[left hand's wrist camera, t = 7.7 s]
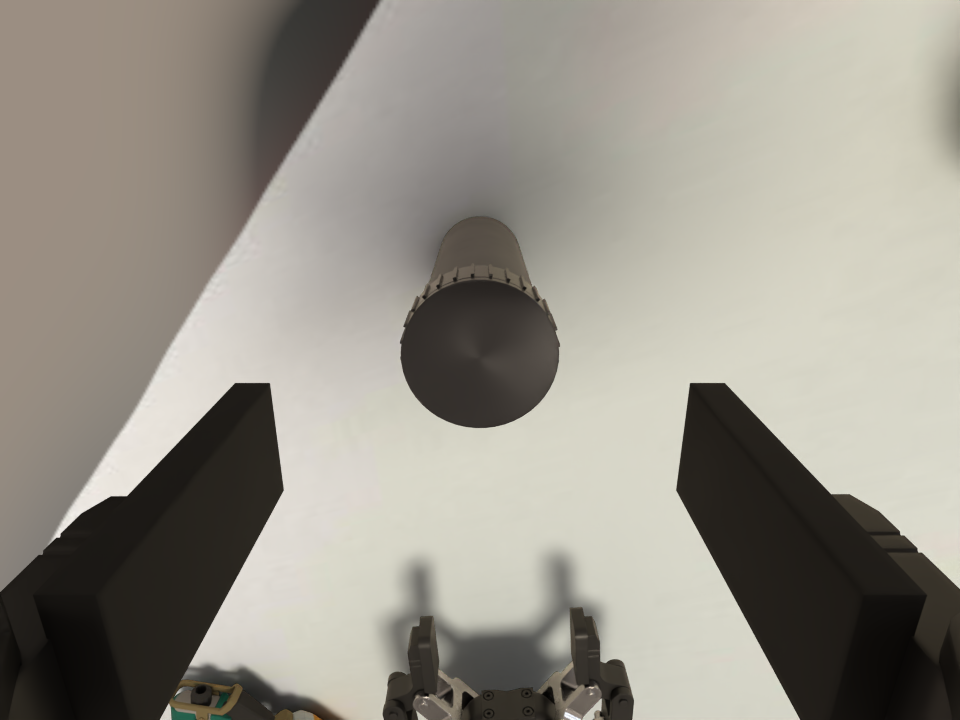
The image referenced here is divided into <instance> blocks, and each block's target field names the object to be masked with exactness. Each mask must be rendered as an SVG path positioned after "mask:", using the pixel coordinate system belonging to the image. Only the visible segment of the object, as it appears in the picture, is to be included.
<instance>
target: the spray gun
mask: <svg viewBox="0 0 960 720" xmlns="http://www.w3.org/2000/svg"><path fill="white" fill-rule="evenodd" d="M184 686H189V687H195V688H194V689H193V690H192V691H190V690H186V691H183V692H181V693H179V694H177V695H176V693H177V691H178V690H179V689H180V688H182V687H184ZM242 689H243V688H242V686H240V685H239V684H234V685H233V686H232V687H230V686H224V685H217V684H211V683H205V682H199V681H193V680H181V681H180V683H179V685H178V687H177V689H176V690H175V692H174V694H173V696H172V698H171V700H170V702H169V704H170V706H171V717H172V720H321V719H320V718H319V717H317V716H316V715H314V714H312V713H310V712H306V711H303V710H299V711H296V712H294V713H292V712H291V711H289V710H287V709H284V710H282V711H280V712H279V713H278V714H276V715H275V716H274V715H273V714H272V713H271V712H270V711H269V710H268V709H267V708H265V707H264V706H263V705H262V704H260V703H259V702H258V701H257V700H255V699H254V698H253V697H252V696H251V695H249V694H248V693H247V692H246V691H244V690H242ZM219 691H220V692H223V693H222V694H221V696H219ZM224 692H226V693H224ZM227 693H232V694H231V695H230V696H229V695H228V694H227ZM175 695H176V696H175ZM174 696H175V697H174Z"/></svg>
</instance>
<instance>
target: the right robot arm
mask: <svg viewBox="0 0 960 720" xmlns="http://www.w3.org/2000/svg"><path fill="white" fill-rule="evenodd" d="M570 631H571V655H572V662H571V663H570V664H569V665H568V666H567V667H566V668H565V669H564V670H563V671H562V672H561V673H559V672H554V673H553V675H552V676H551V677H550V678H549V679H548V680H547V681H546V682H545V683H544V684H543V686H542V687H541V688H540V689H539V690H538V691H537V692H533V688H519V689H516V690H512V691H499V690H483V691H482V695H478V694H477V693H476V692H475V691H474V690H472V689H471V688H470V687H469V686H468V685H466V684H465V683H464V682H463V681H462V680H460V679H459V678H457V677H456V678H454V679H453V680H452V679H451V678H449V677H448V676H447V675H446V674H445V673H443V672H442V671H441V670H440V669H439V656H438V648H437V641H436V633H435V626H434V618H433V616H423V617H420V624H419V626H416V627H412V630H411V633H410V640H409V647H408V659H409V665H410V671H411V673H410V674H408V675H406V674H404V673H402V672H394V673H392V674H391V675H390V676H389V679H388V690H387V696H386V702H385V705H384V709H383V718H384V720H418V717H417V713H416V711H418V712H419V713H420V714H421V715H423V716H424V717H425V718H426V719H428V720H582V718H583V716H584V715H585V714H586V713H587V712H588V711H589V710H590V709H591V708H592V707H593V706H594V705H595V704H596V703H597V702H598V701H599V700H600V698H602V709H601V711H596V712H595V713H594V716H595V718H594V719H593V720H632V715H633V705H634V699H633V695H632V692H631V688H630V684H629V680H628V677H627V673H626V669H625V666H624V663H623V662H622V661H620V660H617V659H613V660H610V661H608V662H607V663H602V662H600V641H599V637H598V632H597V628H596V624H595V621H594V620H593V618H592V616H587V617H584V613H583V608H582V607H577V608H570ZM436 695H437V697H436ZM462 710H463V711H462Z"/></svg>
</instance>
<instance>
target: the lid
mask: <svg viewBox="0 0 960 720" xmlns="http://www.w3.org/2000/svg"><path fill="white" fill-rule="evenodd" d="M403 327H405V329H404V332H403V335H402V338H401V340H400V344H401V357H400V358H401V363H402V368H403V373H404V376H405V379H406V381H407V383H408V385H409V387H410V389H411V391H412V392H413V394H414V395H415V397H416V398H417V399H418V400H419V401H420V403H421V404H422V405H423V406H425V407H426V408H427V409H428V410H429V411H430V412H432V413H433V414H435V415H436V416H438V417H440V418H442V419H444V420H446V421H448V422H450V423H453V424H456V425H460V426H464V427H472V428H488V427H496V426H500V425H504V424H507V423H509V422H512V421H514V420H516V419H518V418H520V417H522V416H524V415H525V414H527V413H528V412H529V411H531V410H532V409H533V408H534V407H535V406H536V405H538V403H539V402H540V401H541V400H542V399H543V398H544V397H545V395H546V393H547V392H548V390H549V389H550V387H551V385H552V383H553V381H554V378H555V375H556V372H557V367H558V363H559V347H560V343H559V340H558V338H557V335H556V332H555V331H556V330H557V327H556V324H555V322H554V319H553V316H552V314H551V313H550V310H549V308H548V305H547V302H546V300H545V299H543V300H542V298H541V297H540V295H539V294H538V291H537V288H536V287H535V286H533V287H532V286H531V285H530V284H529V283H528V282H526V281H525V279H524V277H523V276H522V275H521V276H520V277H519V276H517V275H516V274H514V273H512V272H509V269H508V268H505V270H504V269H501V268H497V267H493V266H492V264H489V265H488V266H484V265H483V266H475V264H474V263H473V264H471V266H468V267H463V268H459V269H458V267H454V270H453V271H450V272H448V273H446V274H444V275H442V273H441V274H439V276H438V279H436V280H435V281H434V282H432V283H431V284H430V285H429V284H427V285H426V286H425V289H424V291H423V293H422V294H421V295H420V297H418V296H417V297H416V298H415V301H414V303H413V306H412V309H411V311H409V313H408V316H407V318H406V321H405V323H404V326H403Z"/></svg>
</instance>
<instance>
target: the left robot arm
mask: <svg viewBox="0 0 960 720" xmlns="http://www.w3.org/2000/svg"><path fill="white" fill-rule="evenodd" d="M283 491H284V489H283V481H282V473H281V465H280V458H279V450H278V442H277V435H276V427H275V419H274V411H273V404H272V396H271V388H270V383H235V384H234V385H233V386H232V387H231V388H230V389H229V390H228V391H227V392H226V393H225V394H224V395H223V397H222V398H221V399H220V400H219V401H218V402H217V403H216V404H215V405H214V406H213V407H212V408H211V409H210V410H209V411H208V412H207V413H206V414H205V415H204V416H203V417H202V418H201V420H200V421H199V422H198V423H197V424H196V425H195V426H194V427H193V428H192V429H191V430H190V431H189V432H188V433H187V434H186V435H185V436H184V437H183V438H182V439H181V440H180V441H179V443H178V444H177V445H176V446H175V447H174V448H173V449H172V450H171V451H170V452H169V453H168V454H167V455H166V456H165V457H164V458H163V459H162V460H161V461H160V462H159V463H158V464H157V466H156V467H155V468H154V469H153V470H152V471H151V472H150V473H149V474H148V475H147V476H146V477H145V478H144V479H143V480H142V481H141V482H140V483H139V484H138V485H137V486H136V487H135V489H134V490H133V491H132V492H131V493H130V494H129V495H128V496H111V497H109V498H107V499H106V500H104V501H102V502H100V503H99V504H97V505H95V506H94V507H92V508H90V509H88V510H87V511H85V512H83V513H82V514H80V515H79V516H78V517H77V518H76V519H75V520H74V521H73V522H72V523H71V524H70V525H69V526H68V527H67V528H66V529H65V530H64V531H63V532H62V533H61V536H60V538H56V539H55V540H54V541H53V542H52V543H51V544H50V545H49V546H47V547H46V548H45V549H44V550H43V555H38V556H37V557H36V558H35V559H34V560H33V561H32V562H31V563H30V564H29V565H28V566H27V567H26V568H25V569H24V570H23V571H22V572H21V573H20V574H19V575H18V576H17V577H16V578H14V579H13V580H12V581H11V582H10V583H9V584H8V585H7V586H6V587H5V588H4V589H3V590H2V591H1V592H0V720H160V718H161V716H162V715H163V713H164V711H165V709H166V707H167V705H168V703H169V702H170V700H171V698H172V696H173V694H174V692H175V690H176V689H177V687H178V685H179V683H180V681H181V679H182V678H183V676H184V674H185V672H186V670H187V668H188V666H189V665H190V663H191V661H192V659H193V657H194V655H195V653H196V652H197V650H198V648H199V646H200V644H201V642H202V641H203V639H204V637H205V635H206V633H207V631H208V629H209V628H210V626H211V624H212V622H213V620H214V618H215V616H216V615H217V613H218V611H219V609H220V607H221V605H222V604H223V602H224V600H225V598H226V596H227V594H228V592H229V591H230V589H231V587H232V585H233V583H234V581H235V579H236V578H237V576H238V574H239V572H240V570H241V568H242V567H243V565H244V563H245V561H246V559H247V557H248V555H249V554H250V552H251V550H252V548H253V546H254V544H255V542H256V541H257V539H258V537H259V535H260V533H261V531H262V530H263V528H264V526H265V524H266V522H267V520H268V518H269V517H270V515H271V513H272V511H273V509H274V507H275V506H276V504H277V502H278V500H279V498H280V496H281V494H282V493H283ZM676 491H677V493H678V494H679V496H680V498H681V500H682V502H683V504H684V506H685V507H686V509H687V511H688V513H689V515H690V517H691V518H692V520H693V522H694V524H695V526H696V528H697V530H698V531H699V533H700V535H701V537H702V539H703V541H704V543H705V544H706V546H707V548H708V550H709V552H710V554H711V555H712V557H713V559H714V561H715V563H716V565H717V567H718V568H719V570H720V572H721V574H722V576H723V578H724V580H725V581H726V583H727V585H728V587H729V589H730V591H731V592H732V594H733V596H734V598H735V600H736V602H737V604H738V605H739V607H740V609H741V611H742V613H743V615H744V616H745V618H746V620H747V622H748V624H749V626H750V628H751V629H752V631H753V633H754V635H755V637H756V639H757V641H758V642H759V644H760V646H761V648H762V650H763V652H764V653H765V655H766V657H767V659H768V661H769V663H770V665H771V666H772V668H773V670H774V672H775V674H776V676H777V678H778V679H779V681H780V683H781V685H782V687H783V689H784V690H785V692H786V694H787V696H788V698H789V700H790V702H791V703H792V705H793V707H794V709H795V711H796V713H797V715H798V716H799V718H800V720H960V589H959V588H958V587H957V586H956V585H955V584H954V583H953V582H952V581H951V580H950V579H949V578H948V577H947V576H946V575H945V574H944V573H942V572H941V571H940V570H939V569H938V568H937V567H936V566H935V565H934V564H933V563H932V562H931V561H930V560H929V559H928V558H927V557H926V556H925V555H924V554H923V553H918V551H917V547H915V546H914V545H913V544H912V543H911V542H910V541H909V540H908V539H907V538H906V537H905V536H901V535H900V531H899V530H898V529H897V528H896V527H895V526H894V525H893V524H892V523H891V522H890V521H888V520H887V519H886V518H885V517H884V516H883V515H882V514H881V513H880V512H879V511H877V510H876V509H874V508H872V507H870V506H869V505H867V504H865V503H864V502H862V501H860V500H858V499H857V498H855V497H853V496H851V495H850V494H830V493H829V492H828V491H827V490H826V489H825V487H824V486H823V485H822V484H821V483H820V482H819V481H818V480H817V479H816V478H815V477H814V476H813V475H812V474H811V473H810V472H809V471H808V470H807V469H806V468H805V467H804V466H803V464H802V463H801V462H800V461H799V460H798V459H797V458H796V457H795V456H794V455H793V454H792V453H791V452H790V451H789V450H788V449H787V448H786V447H785V446H784V445H783V444H782V443H781V441H780V440H779V439H778V438H777V437H776V436H775V435H774V434H773V433H772V432H771V431H770V430H769V429H768V428H767V427H766V426H765V425H764V424H763V423H762V422H761V421H760V420H759V418H758V417H757V416H756V415H755V414H754V413H753V412H752V411H751V410H750V409H749V408H748V407H747V406H746V405H745V404H744V403H743V402H742V401H741V400H740V399H739V398H738V397H737V395H736V394H735V393H734V392H733V391H732V390H731V389H730V388H729V387H728V386H727V385H726V384H725V383H690V388H689V396H688V404H687V411H686V419H685V427H684V435H683V442H682V450H681V458H680V465H679V473H678V481H677V488H676Z"/></svg>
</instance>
